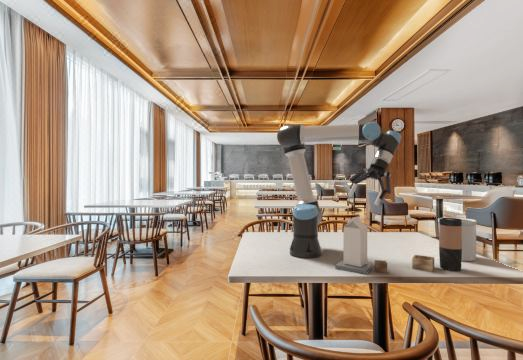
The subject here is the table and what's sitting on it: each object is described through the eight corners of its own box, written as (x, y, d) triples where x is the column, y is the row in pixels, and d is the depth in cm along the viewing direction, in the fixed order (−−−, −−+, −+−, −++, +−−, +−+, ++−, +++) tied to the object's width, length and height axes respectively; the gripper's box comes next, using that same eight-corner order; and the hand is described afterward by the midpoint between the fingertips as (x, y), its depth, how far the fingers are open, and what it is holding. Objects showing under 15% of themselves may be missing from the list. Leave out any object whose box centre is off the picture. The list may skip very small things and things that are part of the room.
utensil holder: (442, 260, 127) (442, 220, 128) (434, 252, 141) (434, 216, 141) (482, 263, 122) (482, 222, 122) (470, 254, 136) (470, 218, 136)
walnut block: (376, 273, 110) (376, 262, 110) (374, 270, 113) (374, 260, 113) (387, 274, 109) (387, 263, 109) (385, 271, 112) (385, 260, 112)
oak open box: (412, 269, 115) (412, 258, 115) (415, 265, 121) (414, 254, 121) (432, 272, 111) (432, 261, 111) (434, 268, 117) (434, 257, 117)
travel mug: (465, 272, 110) (465, 220, 110) (443, 271, 112) (443, 219, 112) (456, 266, 118) (456, 217, 118) (436, 265, 119) (435, 217, 120)
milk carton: (367, 263, 117) (367, 217, 117) (360, 267, 112) (360, 218, 112) (350, 260, 122) (350, 215, 122) (343, 264, 116) (343, 217, 116)
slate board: (335, 268, 115) (335, 264, 115) (345, 261, 125) (345, 258, 125) (366, 274, 108) (366, 270, 108) (373, 266, 118) (373, 262, 118)
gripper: (409, 170, 131) (390, 212, 129) (360, 159, 149) (342, 195, 147) (405, 163, 126) (385, 206, 124) (355, 152, 144) (336, 189, 141)
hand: (362, 200), depth 135 cm, fingers open, 13 cm apart
